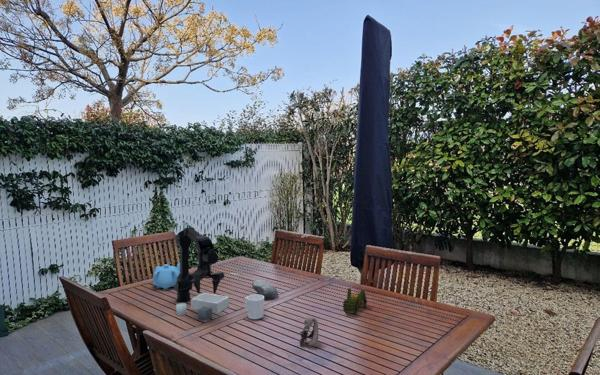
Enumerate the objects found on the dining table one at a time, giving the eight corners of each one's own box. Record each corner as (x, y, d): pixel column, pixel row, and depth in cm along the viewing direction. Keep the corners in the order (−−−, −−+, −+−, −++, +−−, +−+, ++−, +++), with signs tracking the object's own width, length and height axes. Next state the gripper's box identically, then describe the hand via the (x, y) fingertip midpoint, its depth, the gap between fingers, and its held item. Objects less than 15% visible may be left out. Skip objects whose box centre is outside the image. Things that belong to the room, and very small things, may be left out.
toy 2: (369, 302, 214) (369, 285, 214) (357, 318, 192) (357, 299, 192) (351, 300, 219) (352, 283, 218) (338, 315, 196) (338, 296, 196)
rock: (270, 305, 217) (268, 289, 214) (249, 297, 227) (247, 282, 224) (282, 296, 225) (280, 280, 222) (261, 288, 235) (259, 274, 232)
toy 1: (296, 339, 168) (305, 309, 168) (313, 343, 169) (322, 314, 169) (297, 348, 160) (307, 316, 159) (315, 352, 161) (325, 321, 160)
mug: (267, 315, 197) (267, 295, 196) (259, 321, 189) (259, 301, 188) (248, 312, 201) (248, 293, 200) (240, 318, 192) (239, 298, 192)
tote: (190, 309, 205) (190, 299, 205) (203, 302, 215) (203, 292, 215) (217, 313, 198) (217, 303, 198) (229, 306, 209) (228, 296, 208)
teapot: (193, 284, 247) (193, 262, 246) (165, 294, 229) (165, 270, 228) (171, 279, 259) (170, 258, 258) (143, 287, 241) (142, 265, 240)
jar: (174, 314, 197) (174, 305, 197) (180, 311, 202) (180, 302, 202) (182, 316, 196) (181, 306, 195) (188, 312, 200) (188, 303, 200)
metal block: (197, 319, 192) (197, 309, 191) (204, 315, 196) (203, 306, 196) (206, 321, 190) (205, 311, 189) (212, 317, 194) (212, 307, 194)
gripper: (179, 265, 189) (181, 297, 188) (212, 265, 183) (214, 297, 183) (192, 261, 199) (194, 291, 199) (223, 261, 194) (226, 291, 193)
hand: (206, 293), depth 193 cm, fingers open, 9 cm apart
